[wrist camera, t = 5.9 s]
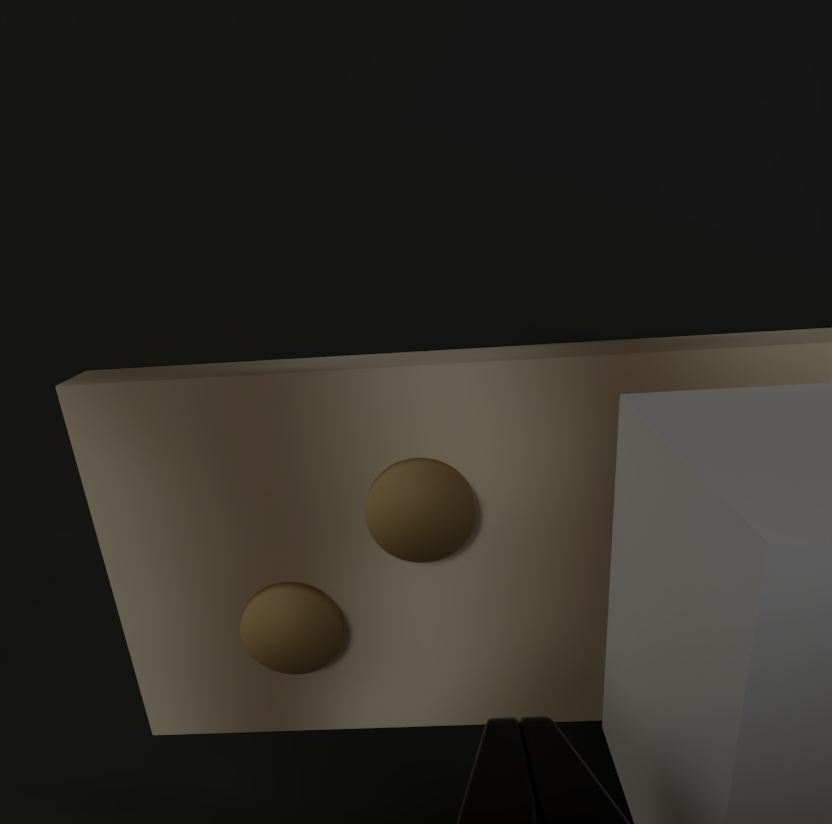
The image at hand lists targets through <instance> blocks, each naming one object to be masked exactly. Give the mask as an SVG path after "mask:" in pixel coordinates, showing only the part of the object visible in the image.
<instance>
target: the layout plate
mask: <svg viewBox="0 0 832 824" xmlns="http://www.w3.org/2000/svg"><path fill="white" fill-rule="evenodd" d="M815 383H832V328H819V329H802V330H784V331H767V332H750V333H732V334H715V335H698V336H681V337H663V338H646V339H629V340H611V341H594V342H577V343H559V344H542V345H525V346H507V347H490V348H473V349H455V350H438V351H421V352H403V353H386V354H369V355H352V356H334V357H317V358H300V359H282V360H265V361H248V362H230V363H213V364H196V365H178V366H161V367H144V368H126V369H109V370H92V371H85V372H83V373H81V374H79V375H77V376H75V377H73V378H71V379H69V380H67V381H65V382H63V383H61V384H59V385H57V386H55V387H56V391H57V394H58V398H59V401H60V405H61V408H62V412H63V416H64V419H65V423H66V426H67V430H68V433H69V437H70V441H71V444H72V448H73V451H74V455H75V458H76V462H77V466H78V469H79V473H80V476H81V480H82V483H83V487H84V491H85V494H86V498H87V501H88V505H89V509H90V512H91V516H92V519H93V523H94V526H95V530H96V534H97V537H98V541H99V544H100V548H101V551H102V555H103V559H104V562H105V566H106V569H107V573H108V576H109V580H110V584H111V587H112V591H113V594H114V598H115V601H116V605H117V609H118V612H119V616H120V619H121V623H122V626H123V630H124V634H125V637H126V641H127V644H128V648H129V651H130V655H131V659H132V662H133V666H134V669H135V673H136V677H137V680H138V684H139V687H140V691H141V694H142V698H143V702H144V705H145V709H146V712H147V716H148V719H149V723H150V727H151V730H152V734H153V735H173V734H203V733H233V732H264V731H294V730H325V729H355V728H385V727H416V726H446V725H477V724H486V722H487V721H488V720H489V719H490V718H504V717H514V718H516V719H517V720H518V722H519V720H520V719H521V718H522V717H532V716H547V717H549V718H551V719H552V720H553V721H554V722H568V721H598V720H602V716H603V698H604V680H605V661H606V643H607V624H608V606H609V587H610V569H611V550H612V532H613V513H614V495H615V476H616V458H617V440H618V421H619V403H620V394H631V393H649V392H668V391H686V390H705V389H723V388H742V387H760V386H779V385H797V384H815Z"/></svg>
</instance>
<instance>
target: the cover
mask: <svg viewBox="0 0 832 824" xmlns="http://www.w3.org/2000/svg"><path fill="white" fill-rule="evenodd" d="M602 728H603V731H604V734H605V737H606V740H607V743H608V746H609V749H610V752H611V755H612V758H613V761H614V764H615V767H616V770H617V773H618V776H619V779H620V782H621V785H622V788H623V791H624V794H625V797H626V800H627V803H628V806H629V809H630V812H631V815H632V818H633V821H634V824H832V383H815V384H797V385H779V386H760V387H742V388H723V389H705V390H686V391H668V392H649V393H631V394H620V403H619V421H618V440H617V458H616V476H615V495H614V513H613V532H612V550H611V569H610V587H609V606H608V624H607V643H606V661H605V680H604V698H603V716H602Z"/></svg>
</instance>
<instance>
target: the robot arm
mask: <svg viewBox="0 0 832 824" xmlns="http://www.w3.org/2000/svg"><path fill="white" fill-rule="evenodd" d="M457 824H630V823H629V821H628V820H627V819H626V817H625V816H624V815H623V813H622V812H621V811H620V809H619V808H618V807H617V805H616V804H615V803H614V801H613V800H612V799H611V797H610V796H609V795H608V793H607V792H606V791H605V789H604V788H603V787H602V785H601V784H600V783H599V781H598V780H597V779H596V777H595V776H594V775H593V773H592V772H591V771H590V769H589V768H588V767H587V765H586V764H585V763H584V761H583V760H582V759H581V757H580V756H579V755H578V753H577V752H576V751H575V749H574V748H573V747H572V745H571V744H570V743H569V741H568V740H567V739H566V737H565V736H564V735H563V733H562V732H561V731H560V729H559V728H558V727H557V725H556V724H555V723H554V721H553V720H552V719H551V718H549V717H547V716H532V717H522V718H521V719H520V720H519V722H518V720H517V719H516V718H514V717H504V718H490V719H489V720H488V721H487V722H486V725H485V729H484V732H483V735H482V739H481V742H480V746H479V749H478V752H477V756H476V759H475V763H474V766H473V769H472V773H471V776H470V780H469V783H468V787H467V790H466V793H465V797H464V800H463V804H462V807H461V810H460V814H459V817H458V821H457Z"/></svg>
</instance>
